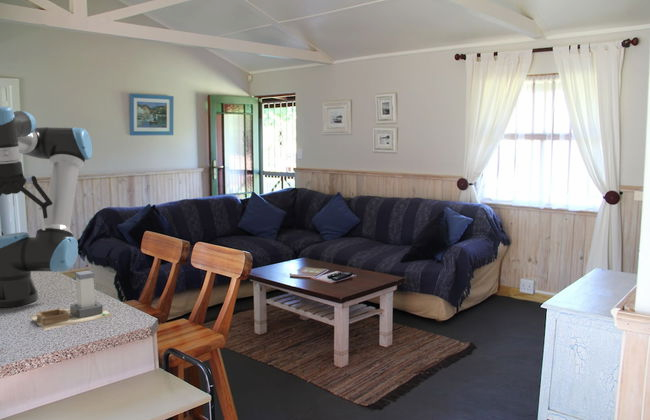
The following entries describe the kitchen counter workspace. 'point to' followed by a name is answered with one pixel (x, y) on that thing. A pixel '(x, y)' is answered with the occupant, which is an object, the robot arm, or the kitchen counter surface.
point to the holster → (52, 316)
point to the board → (71, 320)
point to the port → (86, 310)
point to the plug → (85, 289)
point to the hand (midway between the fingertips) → (18, 233)
